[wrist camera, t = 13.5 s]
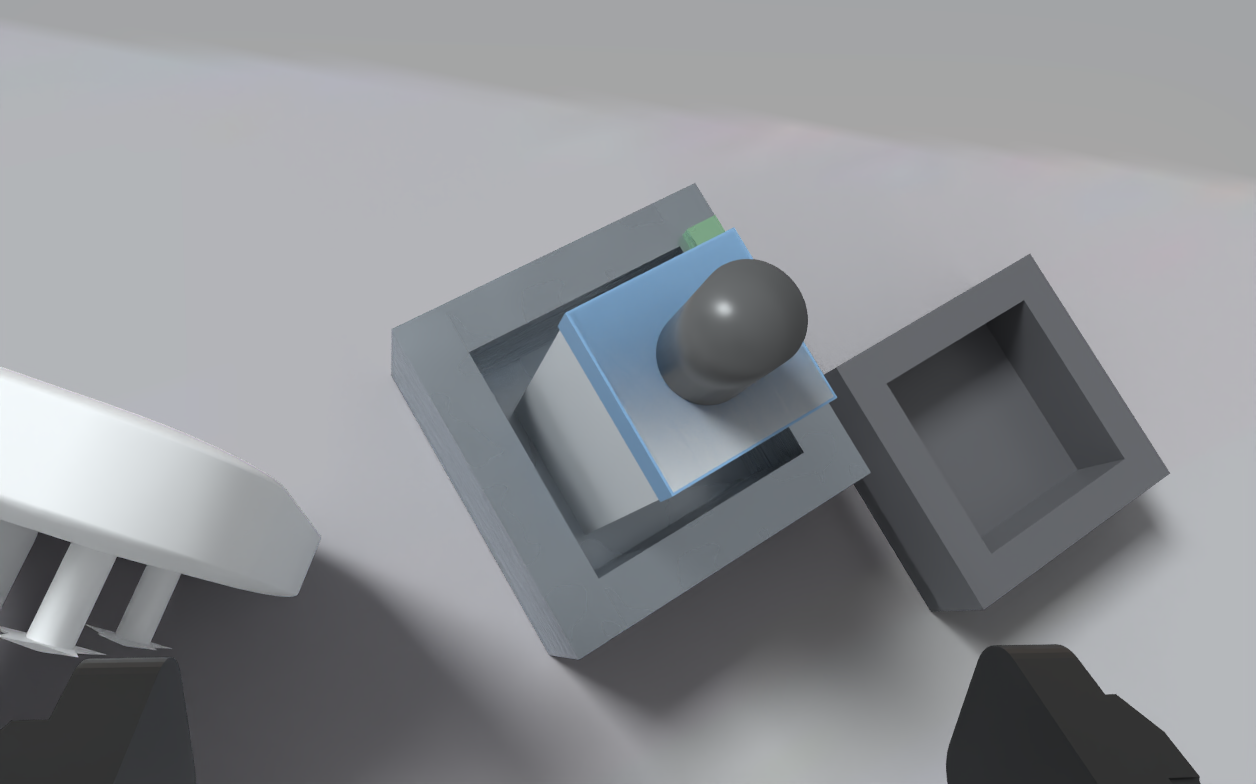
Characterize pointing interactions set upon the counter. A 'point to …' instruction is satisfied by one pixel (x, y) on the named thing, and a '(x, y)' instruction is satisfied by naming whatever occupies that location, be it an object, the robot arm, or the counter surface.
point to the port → (519, 480)
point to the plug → (670, 379)
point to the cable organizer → (132, 513)
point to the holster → (989, 439)
